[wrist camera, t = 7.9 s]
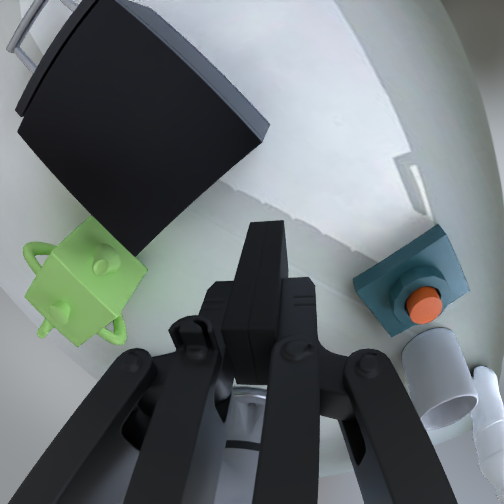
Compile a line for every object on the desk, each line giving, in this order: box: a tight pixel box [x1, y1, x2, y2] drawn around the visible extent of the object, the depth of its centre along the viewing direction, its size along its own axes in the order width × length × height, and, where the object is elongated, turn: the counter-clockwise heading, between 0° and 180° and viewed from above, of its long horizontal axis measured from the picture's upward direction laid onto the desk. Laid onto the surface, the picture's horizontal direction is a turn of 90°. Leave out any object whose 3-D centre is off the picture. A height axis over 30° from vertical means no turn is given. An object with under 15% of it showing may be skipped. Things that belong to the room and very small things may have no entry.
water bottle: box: [470, 366, 504, 504], centre depth 29 cm, size 7×7×25 cm
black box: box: [17, 0, 270, 257], centre depth 22 cm, size 16×14×8 cm
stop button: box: [406, 286, 442, 324], centre depth 28 cm, size 4×4×2 cm
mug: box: [402, 328, 478, 430], centre depth 33 cm, size 12×8×11 cm
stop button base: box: [353, 224, 470, 337], centre depth 30 cm, size 11×9×4 cm
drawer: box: [6, 0, 100, 117], centre depth 20 cm, size 22×13×6 cm, turn 42°
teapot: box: [23, 215, 148, 347], centre depth 31 cm, size 15×13×11 cm
